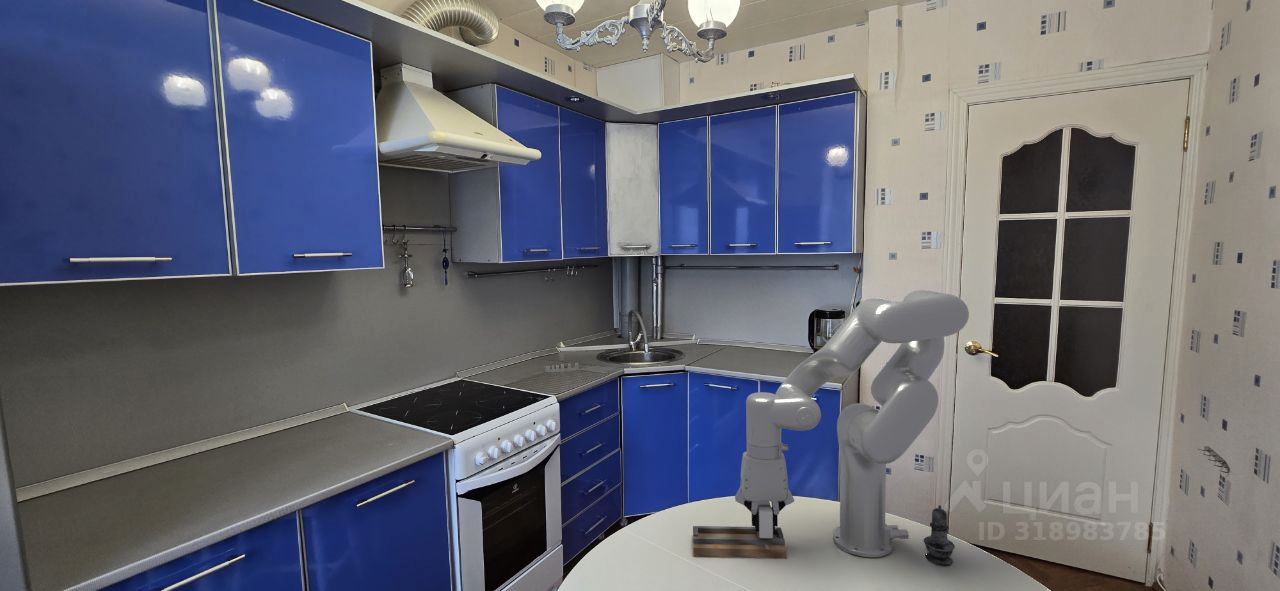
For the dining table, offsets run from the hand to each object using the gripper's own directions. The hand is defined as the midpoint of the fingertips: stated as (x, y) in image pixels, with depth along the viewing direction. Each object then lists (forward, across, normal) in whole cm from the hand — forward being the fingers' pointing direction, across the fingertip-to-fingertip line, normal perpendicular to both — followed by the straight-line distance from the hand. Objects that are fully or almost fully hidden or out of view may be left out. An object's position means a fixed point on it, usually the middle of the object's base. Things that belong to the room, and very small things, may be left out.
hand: (764, 528), depth 125 cm
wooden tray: (+4, +6, 0) cm, 7 cm away
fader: (+2, 0, 0) cm, 2 cm away
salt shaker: (+5, -36, +4) cm, 36 cm away
